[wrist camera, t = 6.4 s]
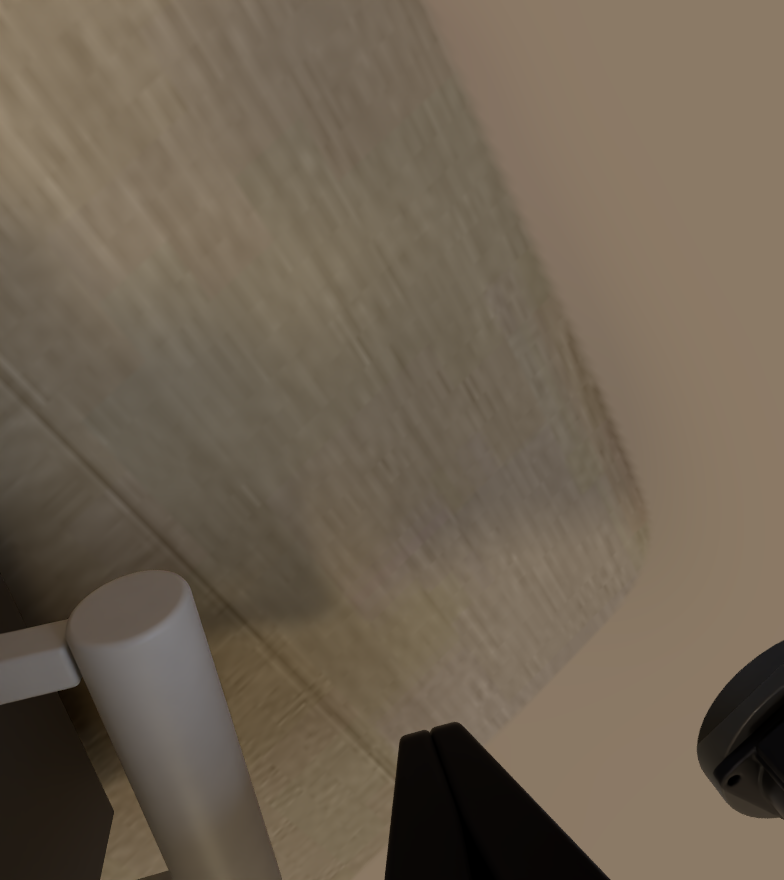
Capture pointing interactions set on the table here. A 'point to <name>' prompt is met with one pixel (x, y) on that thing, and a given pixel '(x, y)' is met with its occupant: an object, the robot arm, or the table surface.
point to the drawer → (123, 739)
